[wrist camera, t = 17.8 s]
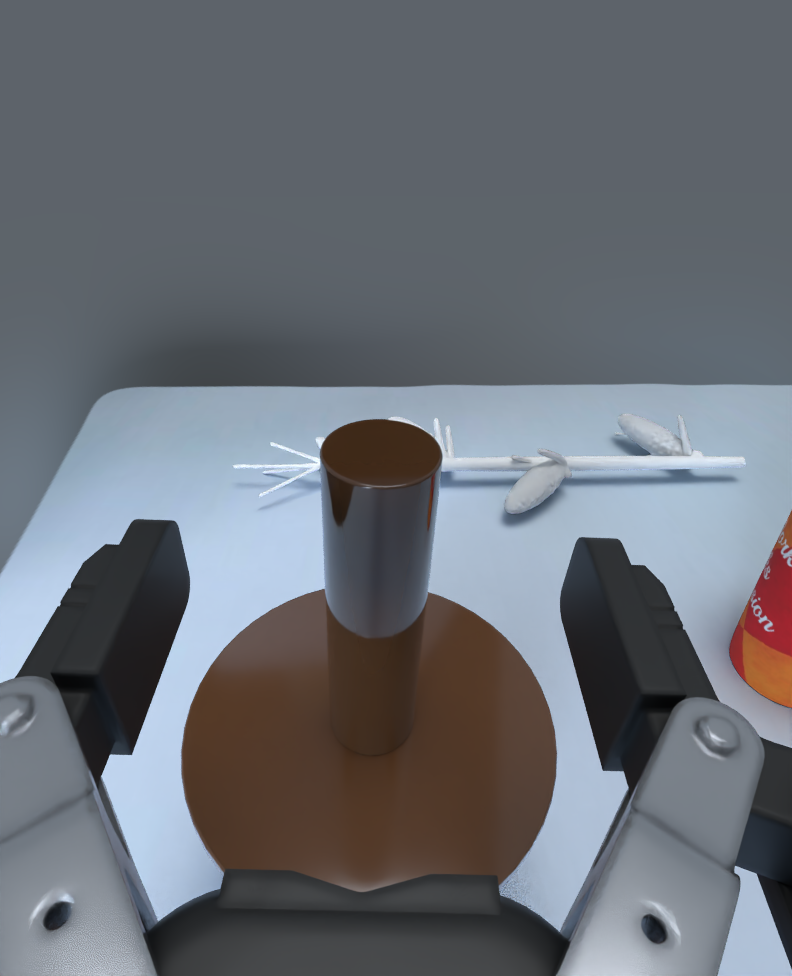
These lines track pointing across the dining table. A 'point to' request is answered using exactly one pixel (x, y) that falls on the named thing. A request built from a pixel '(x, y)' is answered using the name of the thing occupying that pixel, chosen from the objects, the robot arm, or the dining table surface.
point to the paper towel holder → (371, 703)
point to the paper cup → (768, 627)
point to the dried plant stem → (555, 460)
